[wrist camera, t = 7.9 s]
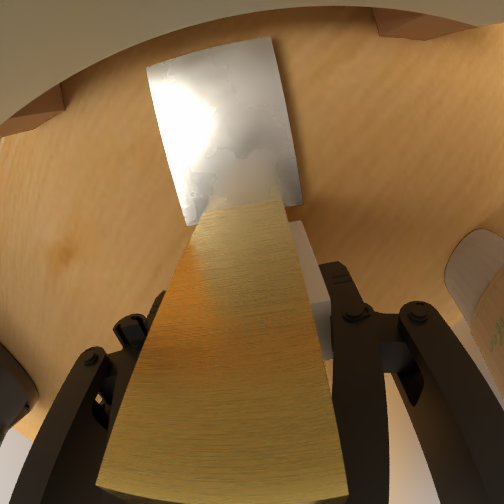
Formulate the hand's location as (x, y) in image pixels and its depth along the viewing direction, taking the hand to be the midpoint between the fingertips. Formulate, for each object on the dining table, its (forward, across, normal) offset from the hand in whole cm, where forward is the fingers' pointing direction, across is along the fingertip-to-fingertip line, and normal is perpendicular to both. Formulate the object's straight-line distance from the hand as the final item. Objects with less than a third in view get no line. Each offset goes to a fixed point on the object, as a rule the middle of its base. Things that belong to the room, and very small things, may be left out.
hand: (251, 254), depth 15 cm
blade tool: (+2, 0, +4) cm, 4 cm away
